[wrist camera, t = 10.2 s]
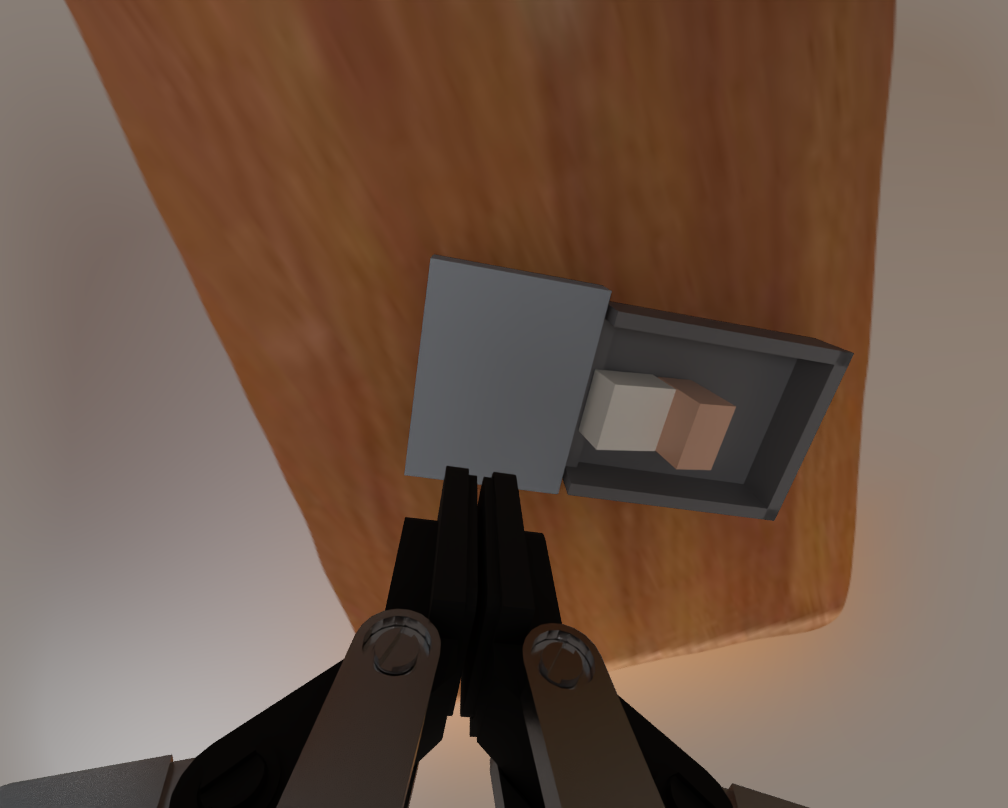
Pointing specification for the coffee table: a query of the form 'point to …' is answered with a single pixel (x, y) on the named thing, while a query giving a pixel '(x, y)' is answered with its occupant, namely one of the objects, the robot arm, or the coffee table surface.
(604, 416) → the tile
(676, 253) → the coffee table surface
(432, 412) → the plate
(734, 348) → the box
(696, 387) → the tile
